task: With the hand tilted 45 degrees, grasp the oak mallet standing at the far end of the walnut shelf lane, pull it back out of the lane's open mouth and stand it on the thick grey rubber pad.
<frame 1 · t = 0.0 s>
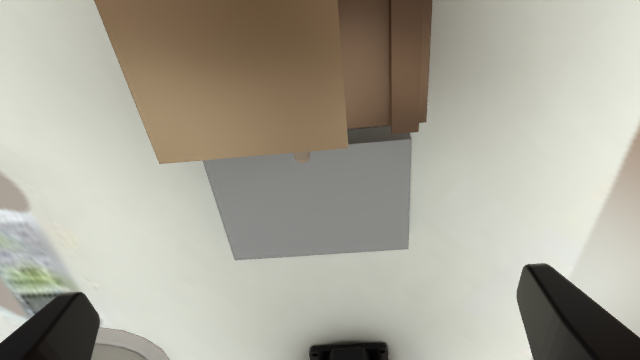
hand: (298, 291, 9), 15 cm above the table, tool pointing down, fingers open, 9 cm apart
french press: (106, 354, 37), on the table
grey rubber pad: (313, 190, 26), on the table
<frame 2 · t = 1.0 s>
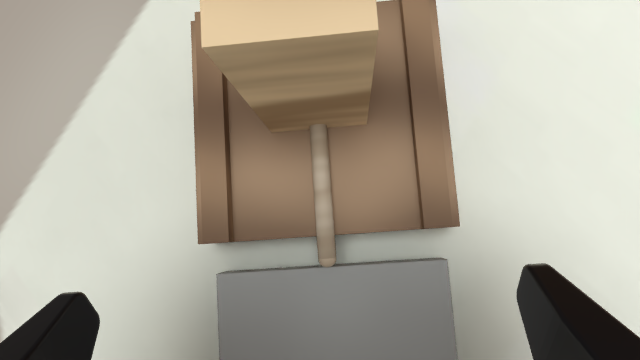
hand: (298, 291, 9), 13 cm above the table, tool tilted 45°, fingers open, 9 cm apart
grey rubber pad: (337, 346, 21), on the table
walnut shelf lane: (321, 130, 23), on the table
oak mallet: (316, 87, 20), point 2 cm above the table, touching walnut shelf lane
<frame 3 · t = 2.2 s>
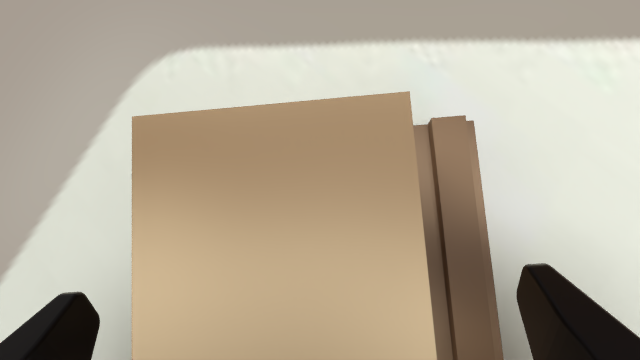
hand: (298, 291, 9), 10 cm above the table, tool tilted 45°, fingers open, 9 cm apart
walnut shelf lane: (328, 275, 18), on the table
oak mallet: (321, 238, 16), point 2 cm above the table, touching walnut shelf lane
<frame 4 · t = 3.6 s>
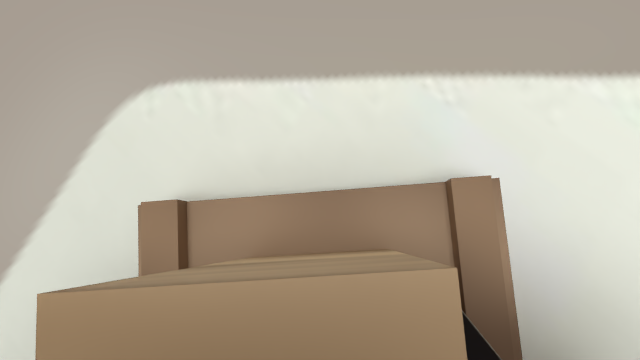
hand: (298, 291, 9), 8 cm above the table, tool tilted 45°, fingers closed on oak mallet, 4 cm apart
walnut shelf lane: (329, 346, 16), on the table
oak mallet: (321, 317, 14), point 2 cm above the table, touching gripper, walnut shelf lane
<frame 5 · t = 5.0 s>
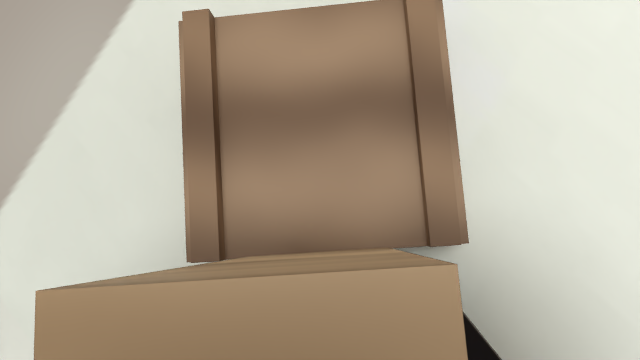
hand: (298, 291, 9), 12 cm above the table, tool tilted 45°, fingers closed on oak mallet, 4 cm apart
walnut shelf lane: (319, 138, 21), on the table
oak mallet: (321, 316, 14), point 7 cm above the table, touching gripper
when the fingers open (7 cm above the table, at t = 6.7 s): oak mallet stays where it is, resting on grey rubber pad.
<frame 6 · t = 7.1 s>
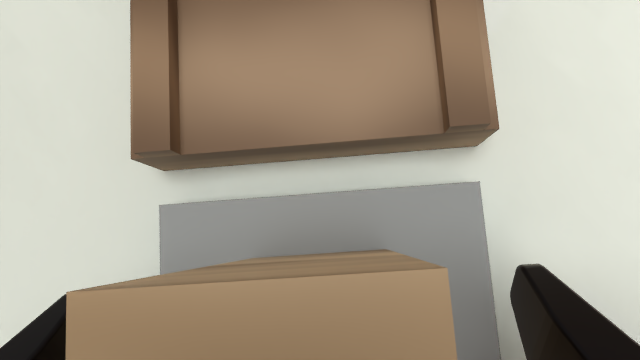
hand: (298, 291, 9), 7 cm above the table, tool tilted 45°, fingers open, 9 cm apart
grey rubber pad: (326, 307, 16), on the table
walnut shelf lane: (307, 23, 17), on the table
oak mallet: (322, 315, 14), point 1 cm above the table, touching grey rubber pad
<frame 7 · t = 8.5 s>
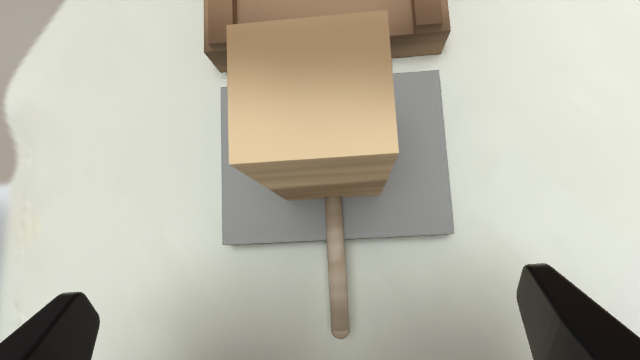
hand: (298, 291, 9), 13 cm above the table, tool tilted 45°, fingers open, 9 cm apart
grey rubber pad: (333, 162, 22), on the table
oak mallet: (331, 157, 21), point 1 cm above the table, touching grey rubber pad
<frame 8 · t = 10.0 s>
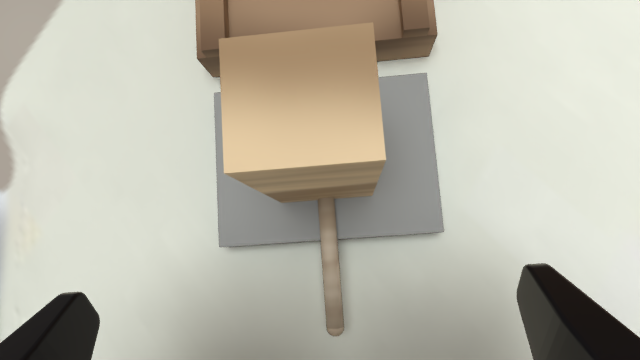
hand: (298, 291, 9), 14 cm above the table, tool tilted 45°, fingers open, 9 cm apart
grey rubber pad: (325, 164, 23), on the table
oak mallet: (323, 159, 21), point 1 cm above the table, touching grey rubber pad
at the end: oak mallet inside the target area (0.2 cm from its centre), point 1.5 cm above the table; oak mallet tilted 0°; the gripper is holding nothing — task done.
